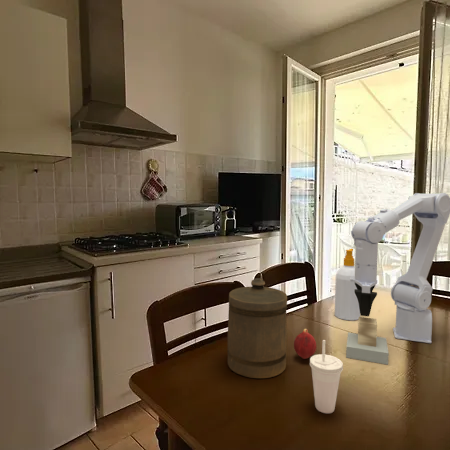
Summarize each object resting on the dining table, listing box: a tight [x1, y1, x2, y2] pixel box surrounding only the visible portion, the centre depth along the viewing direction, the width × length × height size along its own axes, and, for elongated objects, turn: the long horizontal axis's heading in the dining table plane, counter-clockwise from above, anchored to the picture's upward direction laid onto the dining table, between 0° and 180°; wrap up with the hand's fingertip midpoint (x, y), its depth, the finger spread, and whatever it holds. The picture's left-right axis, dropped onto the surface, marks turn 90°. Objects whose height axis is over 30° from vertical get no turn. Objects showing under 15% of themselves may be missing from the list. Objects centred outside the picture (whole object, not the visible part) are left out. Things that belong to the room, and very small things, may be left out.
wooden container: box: [227, 277, 288, 379], centre depth 85 cm, size 15×15×22 cm
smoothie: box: [309, 339, 344, 414], centre depth 67 cm, size 6×6×14 cm
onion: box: [293, 328, 318, 360], centre depth 88 cm, size 6×6×8 cm
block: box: [357, 316, 378, 347], centre depth 91 cm, size 4×4×6 cm
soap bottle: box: [334, 248, 361, 321], centre depth 119 cm, size 9×9×24 cm
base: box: [345, 332, 389, 365], centre depth 91 cm, size 10×10×3 cm
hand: (364, 311), depth 95 cm, fingers open, 7 cm apart
